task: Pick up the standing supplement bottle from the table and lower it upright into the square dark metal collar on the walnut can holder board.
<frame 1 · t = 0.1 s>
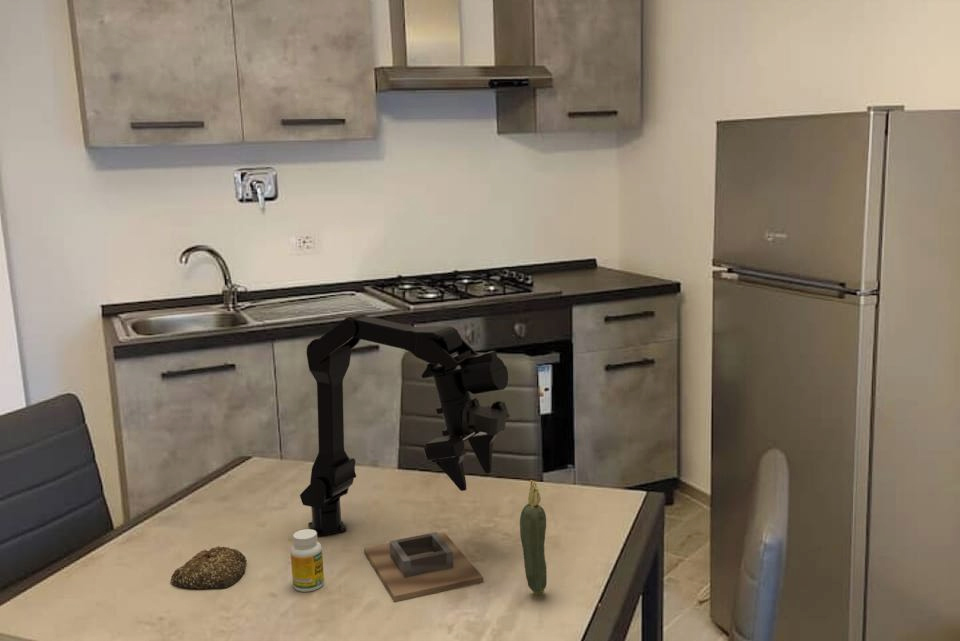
hand: (476, 481, 156), 15 cm above the table, tool pointing down, fingers open, 9 cm apart
bread roll: (213, 575, 158), on the table
can holder: (421, 567, 158), on the table
supplement bottle: (308, 586, 152), on the table
vegetable: (534, 596, 146), on the table
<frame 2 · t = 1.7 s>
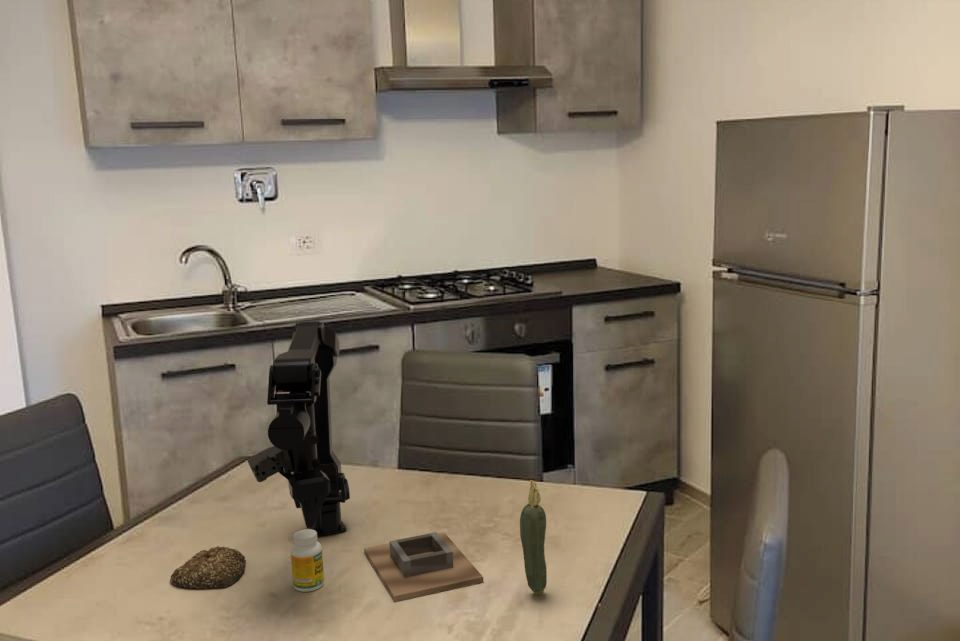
hand: (304, 517, 150), 13 cm above the table, tool pointing down, fingers open, 9 cm apart
nothing on the table moved.
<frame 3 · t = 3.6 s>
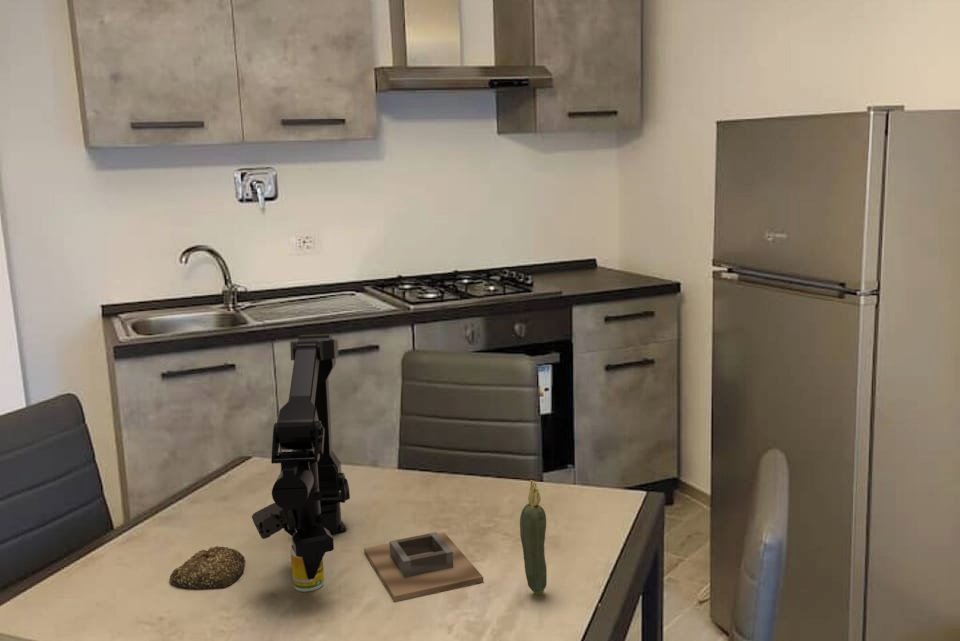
hand: (307, 571, 152), 3 cm above the table, tool pointing down, fingers closed on supplement bottle, 5 cm apart
supplement bottle: (308, 586, 152), on the table, touching gripper
everything else where it was.
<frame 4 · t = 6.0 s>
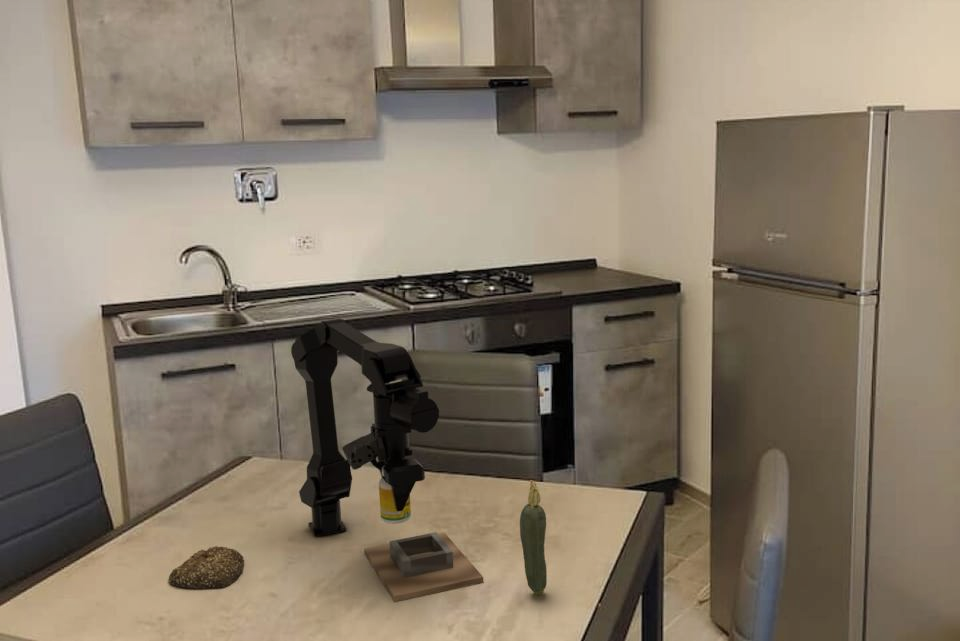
hand: (395, 504, 154), 13 cm above the table, tool pointing down, fingers closed on supplement bottle, 5 cm apart
supplement bottle: (396, 519, 154), point 10 cm above the table, touching gripper
everything else where it was.
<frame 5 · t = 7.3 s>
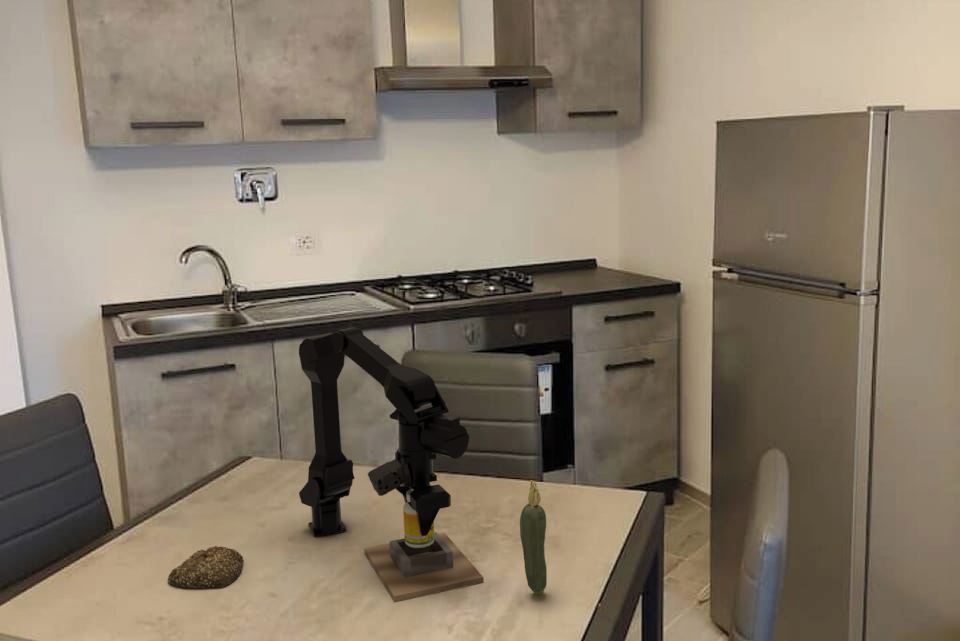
hand: (419, 529, 156), 7 cm above the table, tool pointing down, fingers closed on supplement bottle, 5 cm apart
supplement bottle: (419, 543, 157), point 5 cm above the table, touching gripper
everything else where it was.
when the fingers open (5 cm above the table, at t = 8.6 s): supplement bottle drops 1 cm, resting on can holder.
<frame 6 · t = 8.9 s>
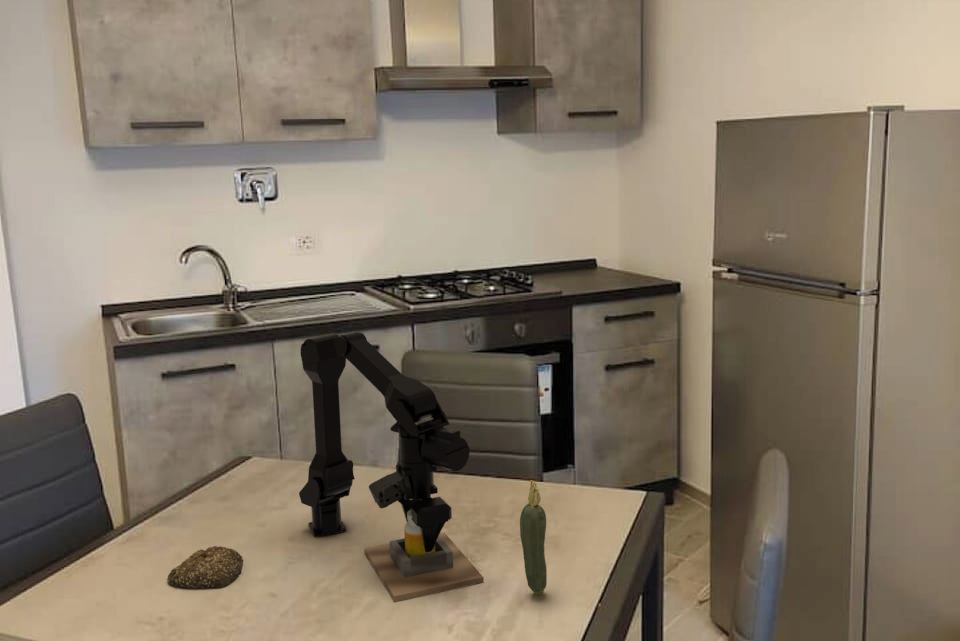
hand: (420, 541, 157), 5 cm above the table, tool pointing down, fingers open, 9 cm apart
supplement bottle: (420, 563, 158), point 1 cm above the table, touching can holder
everything else where it was.
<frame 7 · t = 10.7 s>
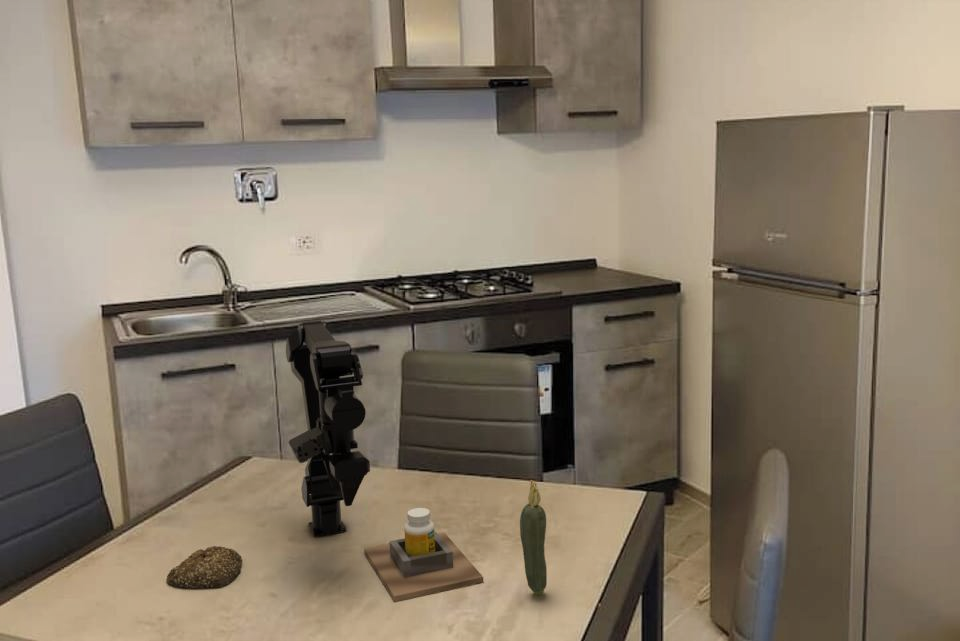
hand: (341, 496, 158), 13 cm above the table, tool pointing down, fingers open, 9 cm apart
nothing on the table moved.
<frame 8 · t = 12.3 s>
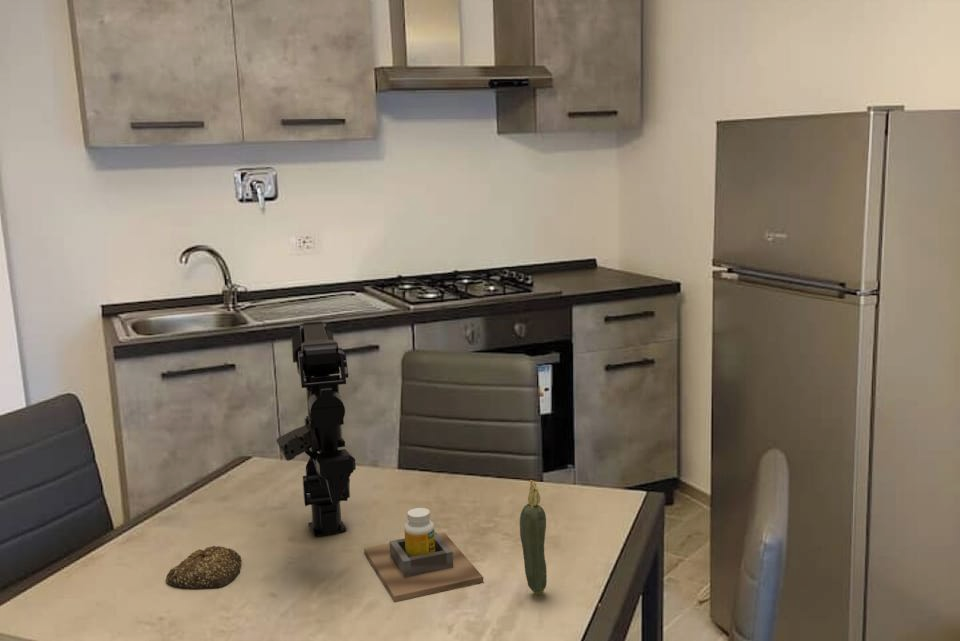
hand: (329, 494, 158), 13 cm above the table, tool pointing down, fingers open, 9 cm apart
nothing on the table moved.
at the end: supplement bottle 0.1 cm off-centre on the can holder, point 0.8 cm above the can holder's base; supplement bottle tilted 0°; the gripper is holding nothing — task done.
